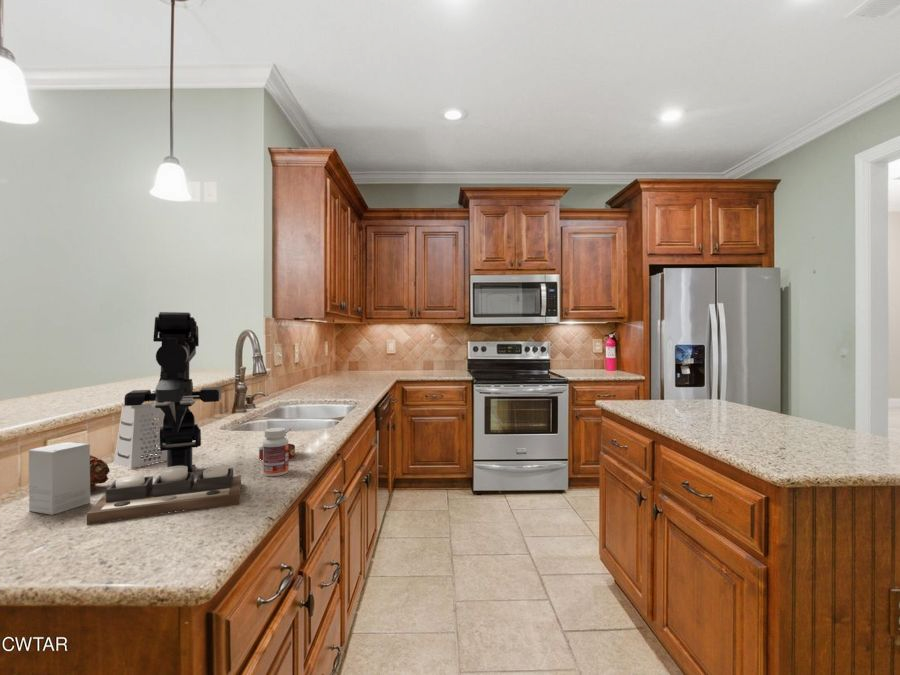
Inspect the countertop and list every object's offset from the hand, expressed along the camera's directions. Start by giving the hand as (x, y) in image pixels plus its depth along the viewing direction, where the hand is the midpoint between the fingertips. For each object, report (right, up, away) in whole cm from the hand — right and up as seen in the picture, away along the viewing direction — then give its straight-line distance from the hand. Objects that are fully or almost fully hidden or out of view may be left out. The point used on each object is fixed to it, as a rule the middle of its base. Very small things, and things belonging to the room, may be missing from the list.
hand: (175, 433), depth 106 cm
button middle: (+4, -9, -7) cm, 12 cm away
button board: (+5, -13, -9) cm, 16 cm away
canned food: (+13, -13, +27) cm, 33 cm away
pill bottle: (+19, -13, +11) cm, 26 cm away
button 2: (+12, -10, -4) cm, 16 cm away
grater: (-23, -13, +23) cm, 35 cm away
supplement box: (-17, -13, -12) cm, 24 cm away
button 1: (-3, -10, -10) cm, 15 cm away
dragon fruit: (-21, -13, -2) cm, 25 cm away
